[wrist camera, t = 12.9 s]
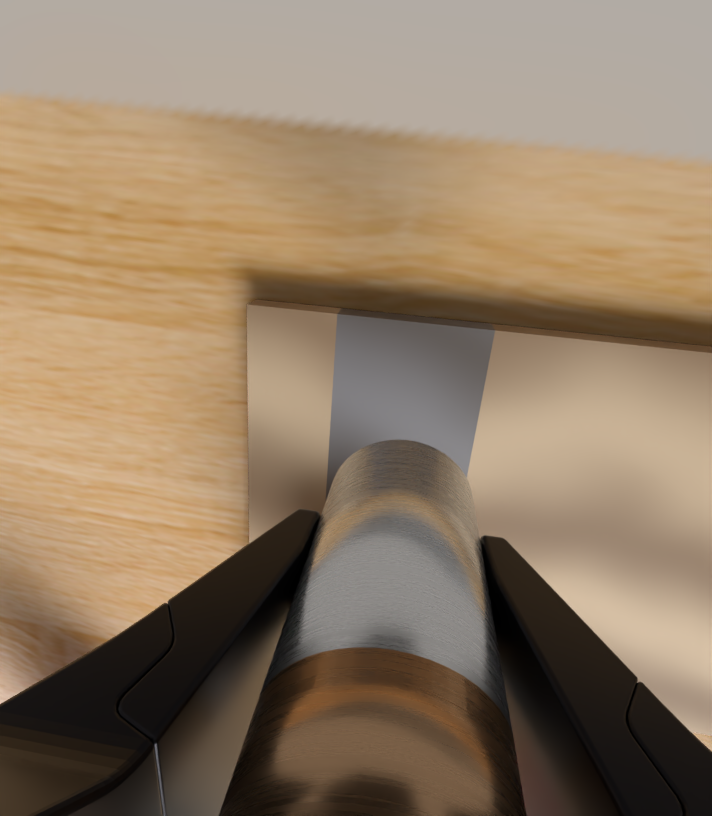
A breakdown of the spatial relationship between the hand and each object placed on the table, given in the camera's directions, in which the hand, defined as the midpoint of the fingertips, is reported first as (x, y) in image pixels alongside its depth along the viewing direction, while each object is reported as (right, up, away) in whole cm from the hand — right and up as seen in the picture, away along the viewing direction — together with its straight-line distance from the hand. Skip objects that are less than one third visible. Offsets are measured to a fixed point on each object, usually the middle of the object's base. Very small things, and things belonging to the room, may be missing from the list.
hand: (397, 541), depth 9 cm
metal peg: (0, +1, +1) cm, 1 cm away
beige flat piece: (+6, -2, +10) cm, 12 cm away
